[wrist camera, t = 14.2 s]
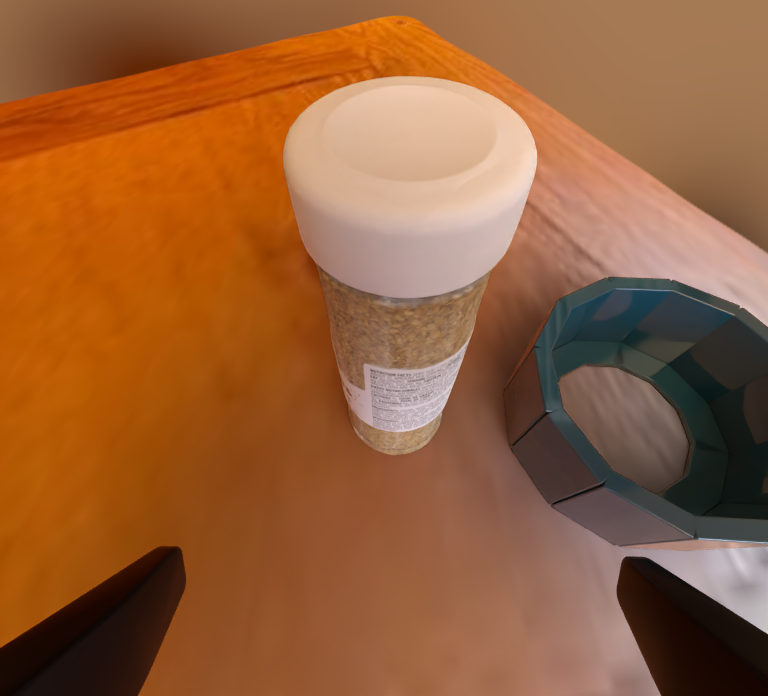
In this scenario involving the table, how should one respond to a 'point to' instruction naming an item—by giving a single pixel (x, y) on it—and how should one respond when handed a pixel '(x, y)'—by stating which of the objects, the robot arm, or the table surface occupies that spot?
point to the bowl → (678, 386)
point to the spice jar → (405, 235)
